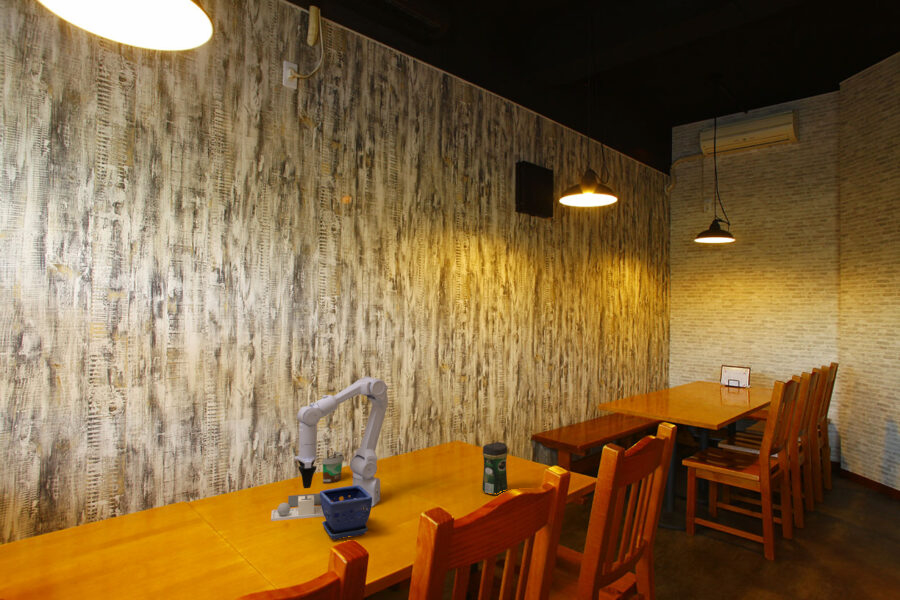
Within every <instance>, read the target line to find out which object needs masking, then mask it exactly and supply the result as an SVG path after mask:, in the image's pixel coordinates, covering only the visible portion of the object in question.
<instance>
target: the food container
mask: <svg viewBox="0 0 900 600" xmlns="http://www.w3.org/2000/svg"><path fill="white" fill-rule="evenodd" d="M344 461H345V455H344V454H343V453H342V452H340V451H334V454H332V455H329V456H328V457H327V458H322V461H321V465H322V484H325V485H326V484H327V485H328V484H336V483H338V481H339V482H340V481H341V479H342V468H343V462H344Z"/></svg>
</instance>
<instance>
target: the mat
mask: <svg viewBox="0 0 900 600" xmlns="http://www.w3.org/2000/svg"><path fill="white" fill-rule="evenodd" d="M309 495H314V506H321V501H320V492H319V493H309V494H305V493H304V494H295V495H288V498H287V500H288V501H287V503H288V504H289V506H290V508H298V496H309Z"/></svg>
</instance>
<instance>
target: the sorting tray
mask: <svg viewBox="0 0 900 600" xmlns="http://www.w3.org/2000/svg"><path fill="white" fill-rule="evenodd" d="M318 517H319V518H320V517H325V516H324V514H323V511H322V507H321V505H314V514H310V515H299V516H298V507H291V508H290V512H289V513H288V514H287V515H285V516H281V515H279V513H278V509H273V510H272V509H271V517H270V521H271V522H274V521H275V522H276V521H277V522H278V521H284V520H285V521H287V520H296V519H308V518H318Z"/></svg>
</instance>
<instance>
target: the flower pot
mask: <svg viewBox="0 0 900 600" xmlns="http://www.w3.org/2000/svg"><path fill="white" fill-rule="evenodd" d="M319 493H320V501H321V505H320V506H321V507H322V511H323V514H324V516H323V517H324V519H325V520H324V521H321V524H322V526H323V527H324V529H325V530H326V533H327V534H328V535H329V537H330V539H332V540H333V539H337V540H340V539H339V538H343V537H348V536H354V537H358V536H357V535H359V536H362V535H364V534H365V533H366V532H368V529H369V528H368V526H367V525H366V524H367V523H368V520H369V517H370V514H371V511H372V507H371V506H372V497H371V495H370V494H369V493H368V492H367V491H365V490H364V489H363V488H362V487H361V486H359V485H355V486H353V485H349V486H341V487H336V488H330V489H325V490H321V491H319ZM341 497H343V499H342V500H340V498H341ZM354 498H356V499H354ZM348 538H349V537H348ZM343 539H344V538H343Z"/></svg>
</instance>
